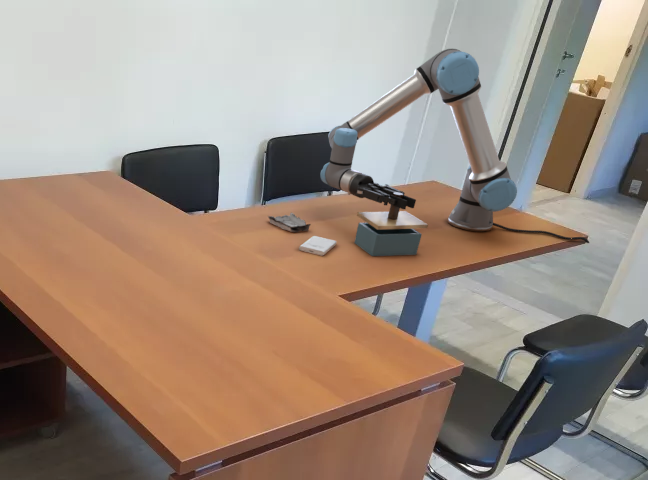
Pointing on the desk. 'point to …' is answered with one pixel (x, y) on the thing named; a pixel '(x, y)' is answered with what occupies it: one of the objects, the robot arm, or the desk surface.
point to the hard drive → (317, 245)
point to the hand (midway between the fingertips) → (409, 204)
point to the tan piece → (392, 218)
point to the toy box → (387, 240)
